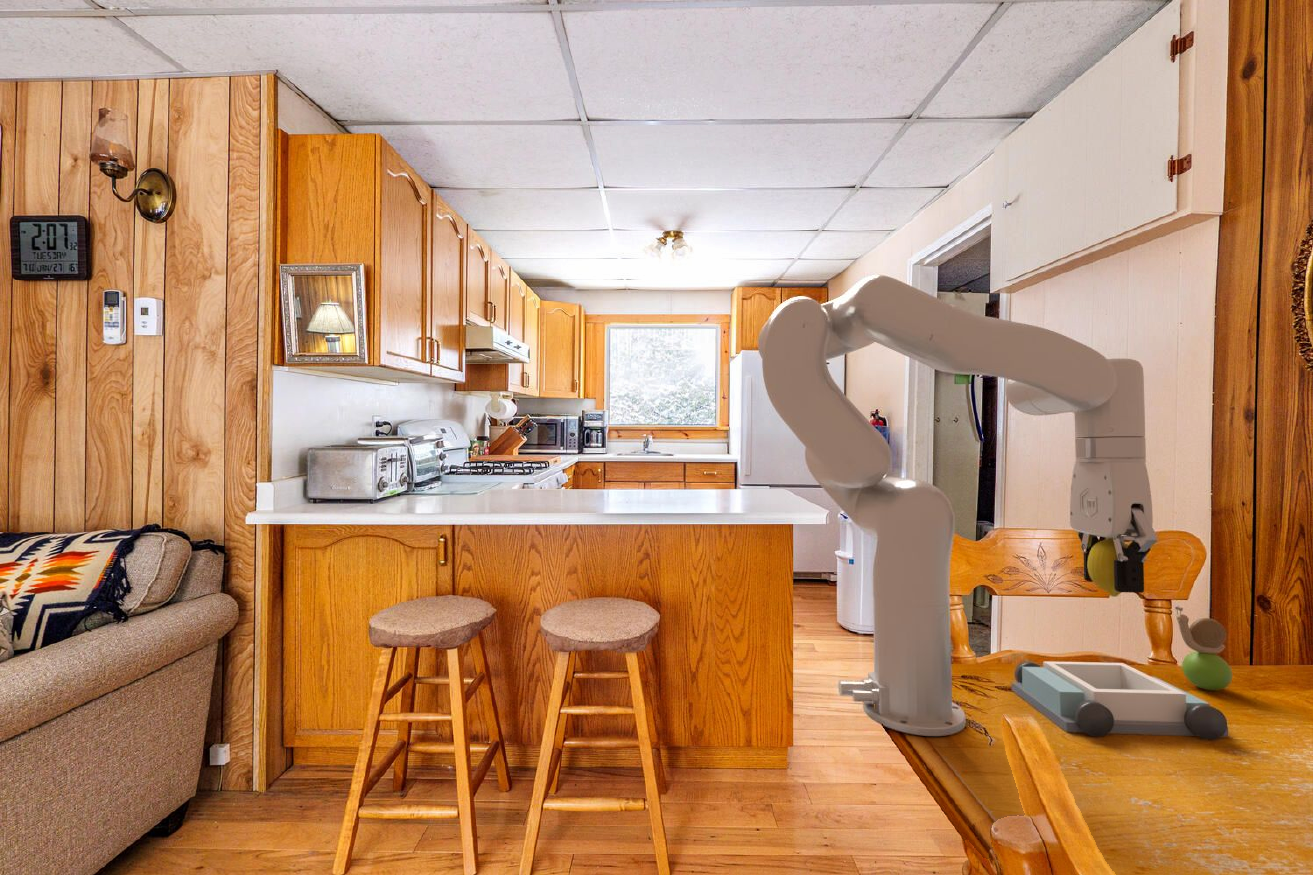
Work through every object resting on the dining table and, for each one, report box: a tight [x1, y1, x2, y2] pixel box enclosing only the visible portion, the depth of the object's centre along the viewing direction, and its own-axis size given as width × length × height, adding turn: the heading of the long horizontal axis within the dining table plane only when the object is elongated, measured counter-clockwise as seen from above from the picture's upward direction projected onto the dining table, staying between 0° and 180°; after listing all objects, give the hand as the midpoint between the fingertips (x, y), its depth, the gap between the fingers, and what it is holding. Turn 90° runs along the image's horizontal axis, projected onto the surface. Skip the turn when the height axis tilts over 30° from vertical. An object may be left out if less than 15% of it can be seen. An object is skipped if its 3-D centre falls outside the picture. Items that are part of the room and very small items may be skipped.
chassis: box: [1011, 660, 1230, 741], centre depth 79 cm, size 19×15×5 cm
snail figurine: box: [1174, 605, 1233, 691], centre depth 87 cm, size 5×6×12 cm
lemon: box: [1087, 538, 1129, 597], centre depth 78 cm, size 6×6×8 cm
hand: (1112, 585), depth 78 cm, fingers closed on lemon, 5 cm apart
